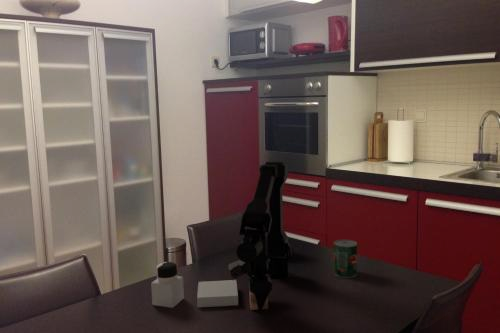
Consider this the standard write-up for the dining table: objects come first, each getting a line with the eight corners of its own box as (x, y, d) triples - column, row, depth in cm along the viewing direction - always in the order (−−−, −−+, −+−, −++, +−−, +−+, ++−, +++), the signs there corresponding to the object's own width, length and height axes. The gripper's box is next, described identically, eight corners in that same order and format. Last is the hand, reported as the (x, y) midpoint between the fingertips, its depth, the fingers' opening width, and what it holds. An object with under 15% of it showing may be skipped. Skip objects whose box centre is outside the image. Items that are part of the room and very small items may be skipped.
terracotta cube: (266, 301, 137) (265, 285, 137) (268, 309, 132) (267, 292, 132) (249, 302, 137) (249, 286, 136) (250, 310, 132) (250, 293, 131)
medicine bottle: (184, 298, 141) (182, 261, 139) (173, 308, 134) (171, 269, 132) (163, 295, 143) (161, 259, 141) (151, 305, 136) (149, 267, 135)
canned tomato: (359, 277, 154) (359, 246, 152) (335, 278, 154) (335, 246, 152) (354, 269, 161) (354, 239, 160) (332, 269, 162) (332, 239, 160)
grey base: (236, 288, 147) (236, 279, 147) (238, 305, 135) (237, 295, 135) (199, 290, 146) (198, 281, 146) (197, 307, 134) (197, 297, 134)
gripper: (228, 242, 141) (230, 290, 143) (230, 263, 122) (232, 318, 125) (264, 241, 142) (265, 288, 144) (271, 261, 123) (272, 316, 125)
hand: (258, 302), depth 134 cm, fingers open, 9 cm apart
